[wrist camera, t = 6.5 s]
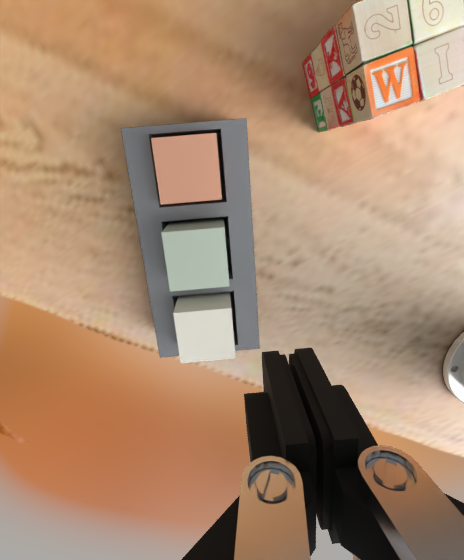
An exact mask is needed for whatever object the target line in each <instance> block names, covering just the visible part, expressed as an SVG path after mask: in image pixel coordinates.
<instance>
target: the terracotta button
mask: <svg viewBox="0 0 464 560" xmlns="http://www.w3.org/2000/svg"><path fill="white" fill-rule="evenodd" d="M151 141H152V148H153V155H154V162H155V169H156V176H157V183H158V190H159V197H160V204H173V203H185V202H197V201H209V200H221V199H222V193H221V182H220V170H219V158H218V146H217V134H216V133H208V134H196V135H183V136H171V137H158V138H151Z"/></svg>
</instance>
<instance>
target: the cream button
mask: <svg viewBox="0 0 464 560" xmlns="http://www.w3.org/2000/svg"><path fill="white" fill-rule="evenodd" d="M173 315H174V322H175V329H176V335H177V342H178V349H179V356H180V362H181V363H191V362H202V361H213V360H224V359H235V358H236V357H235V345H234V333H233V321H232V309H231V300H230V291H227V292H216V293H204V294H193V295H182V296H178V298H177V302H176V305H175V309H174V312H173Z"/></svg>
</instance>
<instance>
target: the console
mask: <svg viewBox="0 0 464 560" xmlns="http://www.w3.org/2000/svg"><path fill="white" fill-rule="evenodd" d="M121 132H122V138H123V144H124V149H125V155H126V161H127V167H128V173H129V179H130V185H131V191H132V197H133V202H134V208H135V214H136V220H137V226H138V232H139V238H140V244H141V249H142V255H143V261H144V267H145V273H146V279H147V285H148V291H149V296H150V302H151V308H152V314H153V320H154V326H155V332H156V338H157V344H158V349H159V355H160V357H171V356H179V349H178V342H177V335H176V329H175V322H174V315H173V312H174V309H175V305H176V302H177V298H178V296H182V295H193V294H204V293H216V292H227V291H230V300H231V309H232V321H233V333H234V345H235V351H237V350H248V349H259V348H260V347H259V329H258V312H257V294H256V277H255V259H254V242H253V224H252V207H251V189H250V172H249V155H248V137H247V120H246V118H244V119H231V120H219V121H206V122H194V123H181V124H169V125H156V126H143V127H131V128H121ZM208 133H216V134H217V146H218V158H219V170H220V182H221V193H222V199H221V200H209V201H197V202H185V203H173V204H160V197H159V190H158V183H157V176H156V169H155V162H154V155H153V148H152V141H151V138H158V137H171V136H183V135H196V134H208ZM213 218H223V219H224V227H225V239H226V250H227V262H228V274H229V286H228V287H216V288H205V289H194V290H182V291H171V292H170V288H169V281H168V274H167V268H166V261H165V254H164V247H163V241H162V234H161V232H162V231H163V230H164V229H165V227H166V226H167V225H168V224H169V222H177V221H189V220H201V219H213Z"/></svg>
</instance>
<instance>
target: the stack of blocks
mask: <svg viewBox="0 0 464 560" xmlns="http://www.w3.org/2000/svg"><path fill="white" fill-rule="evenodd" d="M303 68H304V73H305V77H306V81H307V86H308V90H309V94H310V98H311V101H312V105H313V110H314V114H315V119H316V123H317V128H318V132H323V131H328V130H331V129H334V128H337V127H343V126H347V125H351V124H354V123H357V122H360V121H365V120H370V119H373V118H376V117H379V116H382V115H384V114H387V113H390V112H392V111H395V110H398V109H400V108H403V107H406V106H409V105H411V104H414V103H417V102H421V101H424V100H427V99H429V98H432V97H434V96H437V95H439V94H442V93H444V92H447V91H450V90H452V89H455V88H457V87H460V86H464V0H362V1H359V2H357V3H355V4H353V5H352V6H351V7H350V8H349V9H348V10H347V12H346V13H345V14H344V15H343V16H342V18H341V19H340V20H339V21H338V23H337V24H336V25H335V26H333V27H332V28H331V29H330V30H329V31H328V33H327V34H326V35H325V36H324V37H323V39H322V40H321V42H320V43H319V45H318V46H317V47H316V48H315V49H314V51H313V52H312V53H310V55H309V56H308V57H307V58H306V59H305V60H304V62H303Z"/></svg>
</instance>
